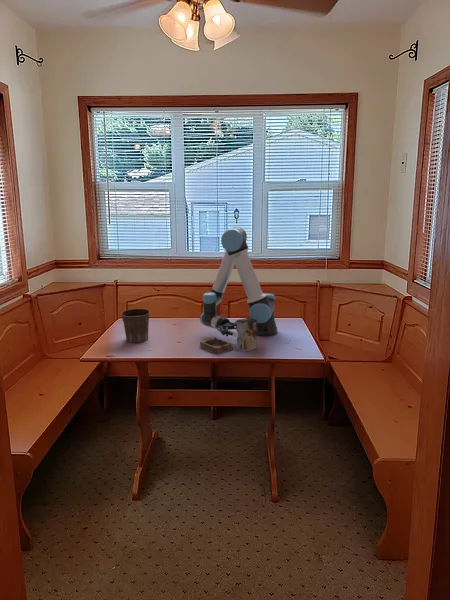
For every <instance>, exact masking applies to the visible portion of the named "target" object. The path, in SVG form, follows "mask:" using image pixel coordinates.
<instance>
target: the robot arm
mask: <svg viewBox="0 0 450 600" xmlns="http://www.w3.org/2000/svg"><path fill="white" fill-rule="evenodd" d="M247 240H248V234H247V233H246V231H245V229H244V228H242V227H239V226H235V227H234V226H233V227H230V228H228V229H227V230H224V232H223V234H221V239H220V242H221V246H222V247H223V249H225V252H224V255H223V258H222V260H221V263H220V265H219V268H218V272H217V274H216V277H215V279H214V282H213V284H212V287H211V290H210V292H205V293H203V295H202V307H203V309H202V310H203V312H202V313H201V314H200V317H199V322H200V324H201V325H203V326H205V327H207V328H212V329H215V330H216V331H218V332H219V333H220V334H221V335H222V336H225V337H229V336H230V337H234V338H236V339H237V338H238V332H237V331H235V330H237V328H236V321H234V322H232V321H230V320H229V319H228V318H226V317H224V316H221V315H217V306H218V305H219V304H220V303H221V302H222V300H223V298H224V293H225V291H226V288H227V286H228V283H229V280H230V278H231V275H232V273H233V270H234V267H236V271H237V273H238V276H239V278H240V281H241V283H242V287H243V288H244V291H245V294H246V296H247V301H246V303H247V306H248V309H249V310H248V311H249V317H250V318H253V319H256V320H257V336H265V337H266V336H272V335H273V336H274V335H277V333H278V326H277V323H276V320H275V317H276V315H275V313H276V311H275V310H276V309H275V308H276V307H275V305H276V297H275V296H276V295H275V294H273V293H264V292H263V290H262V288H261V285H260V282H259V279H258V277H257V274H256V271H255V269H254V267H253V265H252V262H251V258H250V257H249V253H248V250H249V246H248V243H247Z"/></svg>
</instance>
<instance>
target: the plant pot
mask: <svg viewBox="0 0 450 600" xmlns="http://www.w3.org/2000/svg"><path fill="white" fill-rule="evenodd" d="M150 314H151V311H150V310H149V309H146V308H130V309H126V310H123V311H121V312H120V315H121V318H122V322H123V327H124V332H125V333H124V334H125V338H126V339H125V340H126V342H128V343H131V344H138V343H144V342H146V341H148V340H149V322H150Z"/></svg>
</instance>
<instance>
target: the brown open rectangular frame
mask: <svg viewBox="0 0 450 600" xmlns="http://www.w3.org/2000/svg"><path fill="white" fill-rule="evenodd" d="M214 345H216V346H214ZM199 348H201V349H203V350H206V351H208V352H210V353H213V354H216V355H217V354H220V353H224V352H227V351H230V350H231V351H232V350H234V343H232V342H231V343H230V342H227V341H225V340H222V339H219V338H217V337H216V336H215V337H213V338H209V339H205V340H203V341H199Z"/></svg>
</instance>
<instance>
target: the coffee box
mask: <svg viewBox="0 0 450 600" xmlns="http://www.w3.org/2000/svg"><path fill="white" fill-rule="evenodd" d="M235 328H237V329H236V332H238V338H236V350H238V351H241V352H243V353H245V352H249V351H253V350H256V349H258V335H257V320H256V319H253V318H251V317H250V316H248V317H246V318H241V319H237V320H236V326H235Z"/></svg>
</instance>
